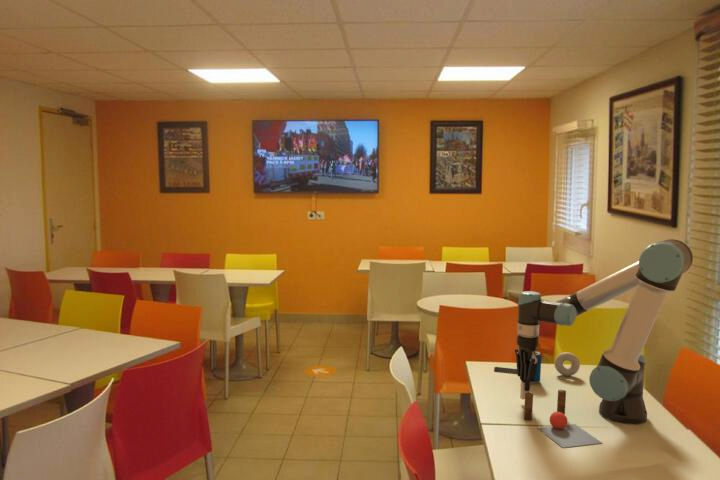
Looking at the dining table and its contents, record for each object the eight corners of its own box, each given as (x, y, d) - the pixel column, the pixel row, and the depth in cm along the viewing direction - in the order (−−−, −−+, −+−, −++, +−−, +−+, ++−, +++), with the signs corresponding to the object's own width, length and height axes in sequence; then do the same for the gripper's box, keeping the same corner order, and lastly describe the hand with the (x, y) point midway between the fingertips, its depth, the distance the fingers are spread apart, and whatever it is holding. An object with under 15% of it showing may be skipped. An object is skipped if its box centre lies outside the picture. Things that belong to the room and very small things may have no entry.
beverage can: (540, 384, 228) (542, 355, 227) (523, 383, 230) (525, 354, 228) (539, 379, 235) (540, 350, 233) (522, 377, 236) (524, 349, 235)
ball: (559, 416, 192) (566, 431, 188) (544, 417, 191) (551, 433, 187) (565, 407, 189) (572, 423, 185) (550, 409, 187) (557, 424, 184)
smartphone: (528, 375, 239) (493, 371, 243) (528, 376, 239) (493, 373, 243) (528, 370, 245) (494, 366, 249) (528, 371, 246) (494, 367, 249)
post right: (566, 417, 197) (567, 392, 196) (559, 418, 197) (560, 392, 196) (561, 414, 200) (563, 389, 199) (555, 415, 199) (556, 389, 198)
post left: (533, 420, 194) (534, 394, 193) (526, 421, 193) (527, 395, 192) (529, 417, 197) (530, 392, 196) (522, 418, 196) (523, 392, 195)
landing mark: (602, 443, 178) (602, 442, 178) (562, 448, 175) (562, 447, 175) (574, 424, 192) (574, 424, 192) (537, 428, 188) (537, 427, 188)
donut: (578, 375, 240) (580, 352, 239) (579, 378, 237) (581, 354, 235) (553, 373, 242) (554, 350, 241) (554, 375, 239) (555, 352, 238)
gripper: (509, 330, 212) (506, 392, 214) (528, 340, 199) (524, 406, 202) (527, 329, 214) (524, 391, 216) (547, 339, 201) (543, 404, 204)
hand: (524, 398), depth 209 cm, fingers closed
